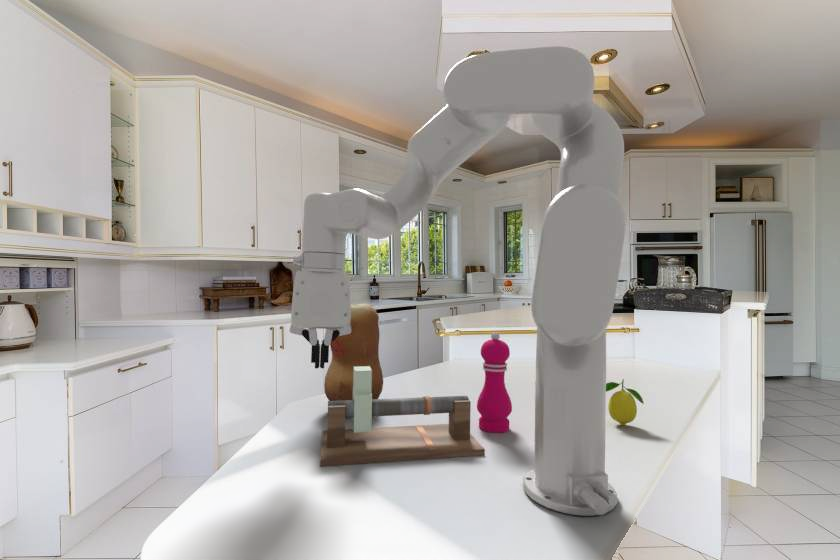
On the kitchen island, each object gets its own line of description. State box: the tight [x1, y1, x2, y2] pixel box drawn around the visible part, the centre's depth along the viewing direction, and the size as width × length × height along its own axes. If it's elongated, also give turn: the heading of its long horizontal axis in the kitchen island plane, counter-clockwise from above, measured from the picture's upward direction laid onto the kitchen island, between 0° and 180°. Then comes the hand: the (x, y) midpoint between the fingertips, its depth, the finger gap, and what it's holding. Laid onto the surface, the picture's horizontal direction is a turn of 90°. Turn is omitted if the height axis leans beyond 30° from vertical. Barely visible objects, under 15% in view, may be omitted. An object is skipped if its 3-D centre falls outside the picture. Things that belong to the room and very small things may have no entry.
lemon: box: [606, 378, 644, 426], centre depth 90 cm, size 7×6×10 cm
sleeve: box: [351, 366, 373, 433], centre depth 76 cm, size 6×3×10 cm, turn 12°
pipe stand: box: [319, 395, 486, 467], centre depth 77 cm, size 14×28×9 cm, turn 102°
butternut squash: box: [323, 303, 384, 401], centre depth 97 cm, size 14×13×25 cm
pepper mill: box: [476, 331, 513, 434], centre depth 87 cm, size 7×7×20 cm
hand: (319, 366), depth 75 cm, fingers closed
